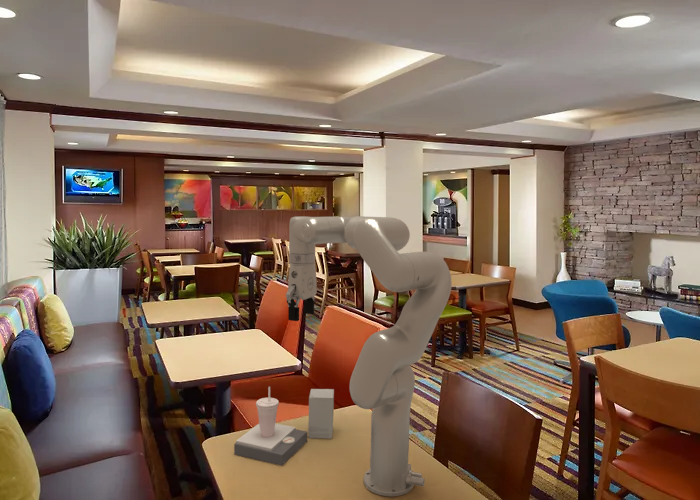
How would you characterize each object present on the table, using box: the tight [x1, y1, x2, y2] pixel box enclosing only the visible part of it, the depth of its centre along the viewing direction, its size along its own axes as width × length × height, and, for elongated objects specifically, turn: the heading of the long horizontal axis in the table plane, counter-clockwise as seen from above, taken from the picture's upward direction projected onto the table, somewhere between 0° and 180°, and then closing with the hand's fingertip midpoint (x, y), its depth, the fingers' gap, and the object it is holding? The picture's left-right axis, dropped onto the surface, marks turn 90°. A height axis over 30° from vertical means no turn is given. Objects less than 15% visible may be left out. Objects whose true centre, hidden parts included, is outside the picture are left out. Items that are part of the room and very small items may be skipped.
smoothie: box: [255, 386, 279, 438], centre depth 144 cm, size 6×6×14 cm
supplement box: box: [307, 388, 335, 439], centre depth 154 cm, size 7×7×13 cm
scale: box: [233, 422, 308, 467], centre depth 145 cm, size 15×15×4 cm
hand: (301, 316), depth 149 cm, fingers open, 9 cm apart
